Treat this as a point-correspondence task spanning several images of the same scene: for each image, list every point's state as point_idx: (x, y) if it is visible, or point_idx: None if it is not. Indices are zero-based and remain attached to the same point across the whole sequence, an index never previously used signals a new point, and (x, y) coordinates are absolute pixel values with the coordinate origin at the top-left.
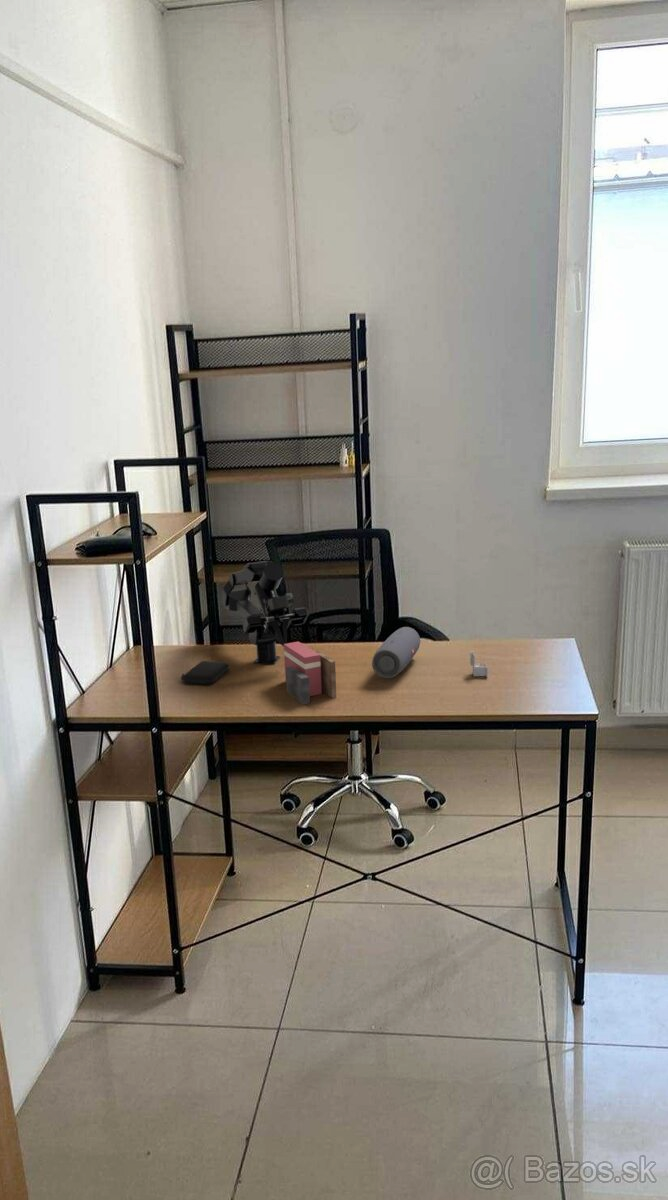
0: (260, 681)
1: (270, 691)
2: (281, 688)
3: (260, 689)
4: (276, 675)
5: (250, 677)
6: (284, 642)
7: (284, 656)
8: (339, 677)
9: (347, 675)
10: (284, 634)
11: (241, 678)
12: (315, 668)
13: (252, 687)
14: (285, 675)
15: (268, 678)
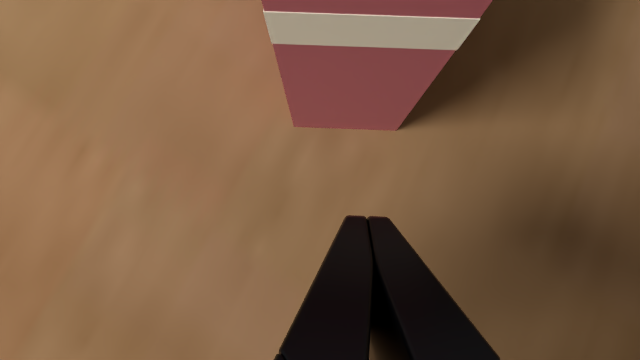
0: (537, 221)
1: (544, 25)
2: None
3: (586, 88)
4: None
5: (570, 336)
6: (377, 235)
7: (450, 53)
8: (85, 11)
9: (26, 15)
10: (345, 338)
11: (632, 354)
12: None
13: (619, 147)
14: (404, 116)
15: (469, 245)
